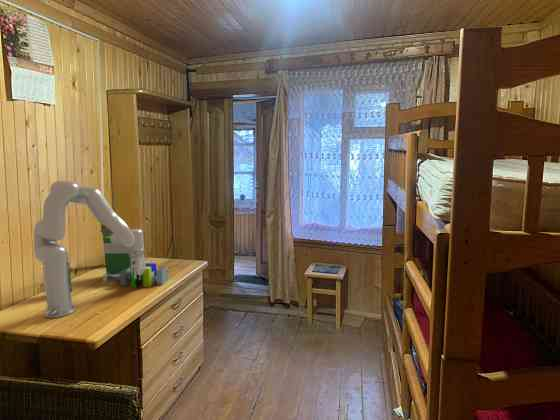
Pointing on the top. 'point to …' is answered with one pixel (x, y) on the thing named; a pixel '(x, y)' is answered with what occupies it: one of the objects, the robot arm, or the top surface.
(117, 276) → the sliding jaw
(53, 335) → the top surface
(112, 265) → the hardback book
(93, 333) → the top surface
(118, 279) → the vise body
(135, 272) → the robot arm
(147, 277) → the puzzle toy
